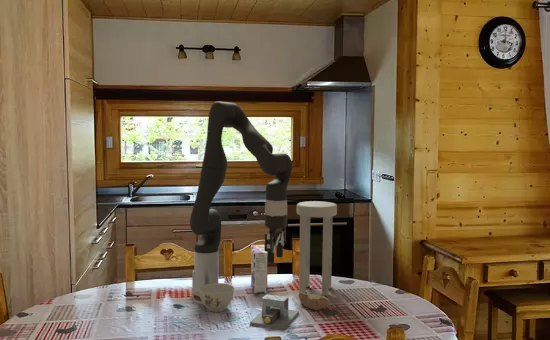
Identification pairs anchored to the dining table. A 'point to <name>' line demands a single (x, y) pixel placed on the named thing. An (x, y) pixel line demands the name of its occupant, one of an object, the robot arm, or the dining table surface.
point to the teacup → (215, 296)
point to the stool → (306, 212)
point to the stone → (314, 301)
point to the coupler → (274, 319)
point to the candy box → (259, 269)
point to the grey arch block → (275, 305)
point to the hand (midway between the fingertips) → (275, 260)
